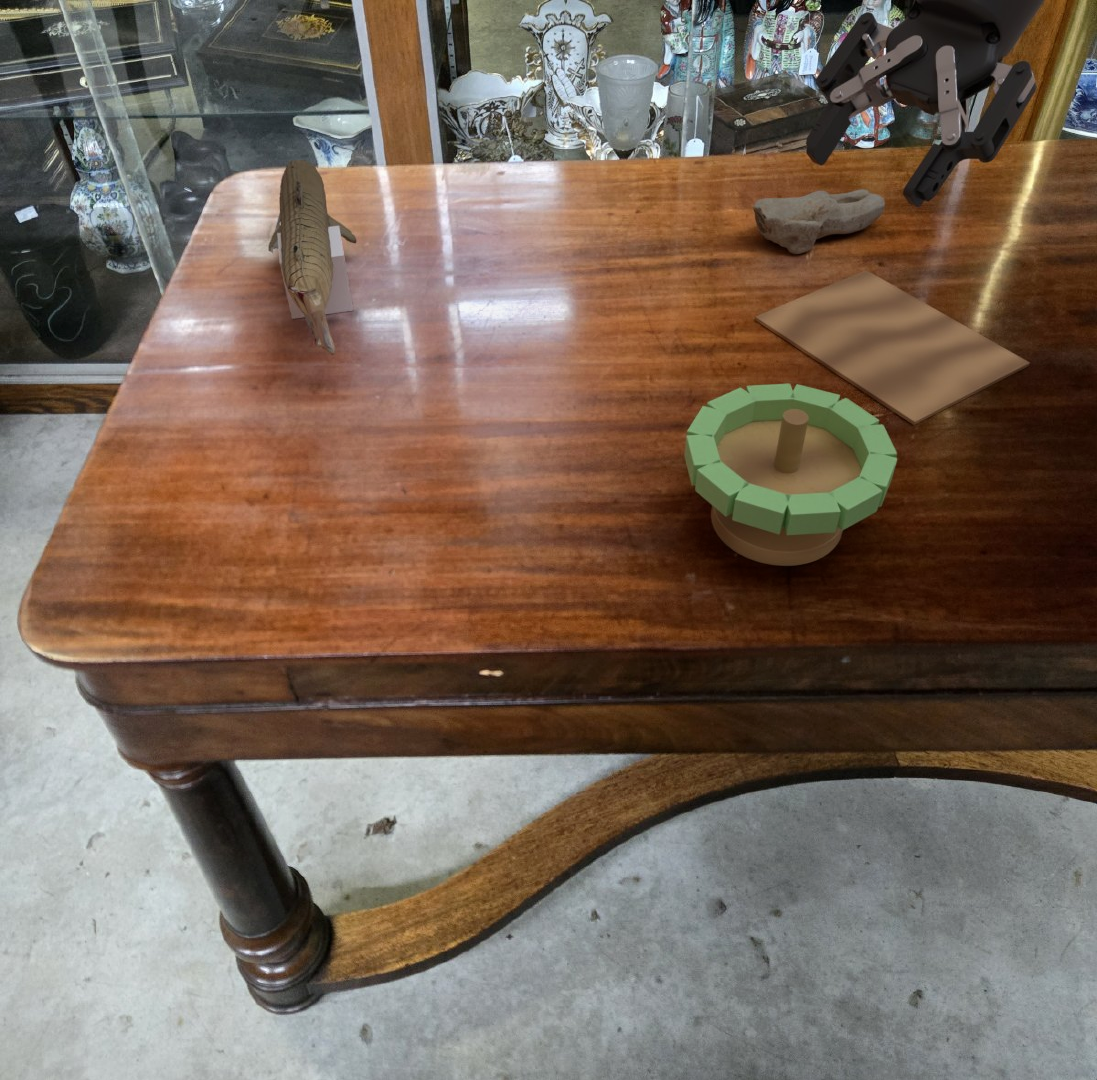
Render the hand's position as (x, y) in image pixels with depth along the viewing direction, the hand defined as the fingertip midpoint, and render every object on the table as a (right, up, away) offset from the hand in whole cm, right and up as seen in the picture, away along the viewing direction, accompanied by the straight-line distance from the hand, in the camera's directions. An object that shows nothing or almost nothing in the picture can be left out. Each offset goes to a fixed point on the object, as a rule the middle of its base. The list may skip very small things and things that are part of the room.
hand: (860, 179), depth 74 cm
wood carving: (-44, -3, +29) cm, 53 cm away
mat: (+10, -7, +23) cm, 26 cm away
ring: (-5, -19, +2) cm, 20 cm away
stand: (-5, -24, +6) cm, 25 cm away
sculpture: (+6, +7, +38) cm, 39 cm away
